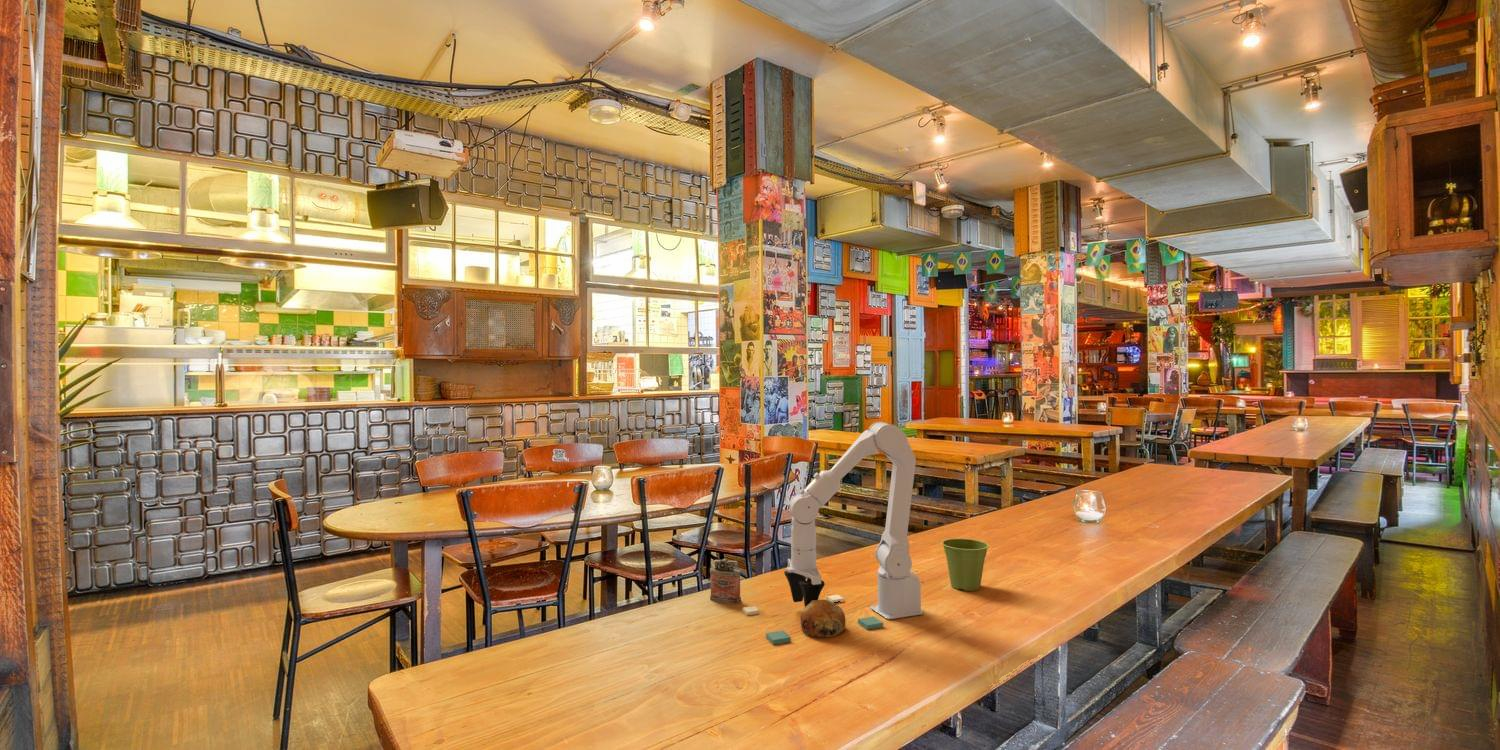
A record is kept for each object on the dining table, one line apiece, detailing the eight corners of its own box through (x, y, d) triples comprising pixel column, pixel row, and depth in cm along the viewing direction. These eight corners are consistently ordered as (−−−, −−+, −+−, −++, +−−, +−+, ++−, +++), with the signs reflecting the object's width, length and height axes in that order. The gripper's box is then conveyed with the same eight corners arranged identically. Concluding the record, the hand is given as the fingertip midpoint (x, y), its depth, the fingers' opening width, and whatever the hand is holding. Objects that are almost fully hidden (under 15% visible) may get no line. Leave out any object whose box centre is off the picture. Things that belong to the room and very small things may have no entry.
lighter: (707, 600, 165) (707, 560, 165) (713, 596, 168) (713, 556, 168) (737, 604, 162) (737, 563, 162) (743, 600, 165) (742, 559, 165)
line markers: (839, 597, 166) (839, 593, 166) (883, 627, 147) (883, 622, 147) (740, 611, 158) (740, 607, 158) (773, 644, 138) (773, 640, 138)
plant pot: (999, 588, 172) (999, 544, 172) (969, 597, 165) (969, 552, 165) (961, 576, 182) (961, 535, 182) (931, 585, 175) (931, 542, 175)
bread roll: (847, 642, 148) (849, 604, 151) (840, 638, 139) (842, 598, 142) (803, 637, 151) (806, 600, 154) (793, 633, 142) (797, 594, 145)
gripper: (775, 541, 160) (776, 598, 161) (800, 557, 147) (801, 619, 147) (802, 539, 163) (803, 594, 163) (829, 554, 149) (830, 615, 149)
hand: (804, 606), depth 155 cm, fingers open, 6 cm apart
